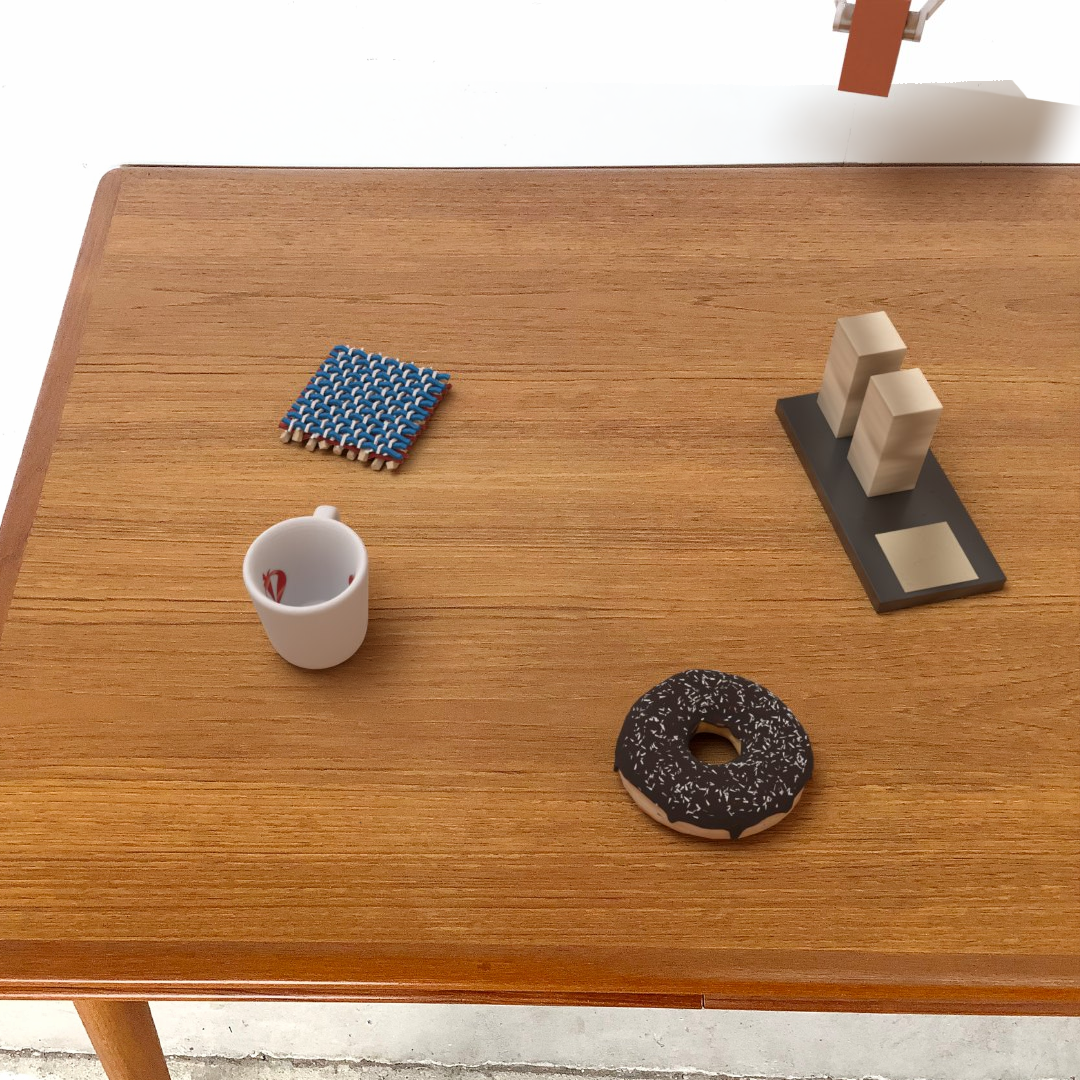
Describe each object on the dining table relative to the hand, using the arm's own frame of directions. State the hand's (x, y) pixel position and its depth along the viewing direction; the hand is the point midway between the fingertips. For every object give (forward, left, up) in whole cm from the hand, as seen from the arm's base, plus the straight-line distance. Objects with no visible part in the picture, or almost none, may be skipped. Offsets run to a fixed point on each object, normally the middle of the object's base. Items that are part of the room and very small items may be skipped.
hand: (876, 35), depth 102 cm
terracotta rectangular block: (0, -1, -4) cm, 4 cm away
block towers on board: (+10, +33, -15) cm, 38 cm away
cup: (+51, +35, -15) cm, 64 cm away
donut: (+29, +52, -15) cm, 62 cm away
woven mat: (+45, +16, -15) cm, 50 cm away
